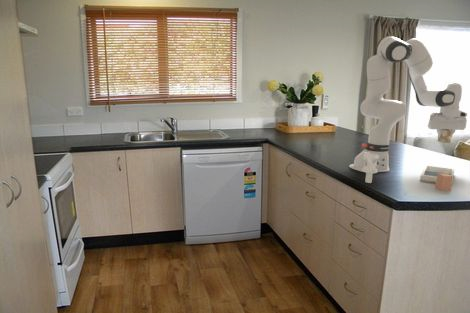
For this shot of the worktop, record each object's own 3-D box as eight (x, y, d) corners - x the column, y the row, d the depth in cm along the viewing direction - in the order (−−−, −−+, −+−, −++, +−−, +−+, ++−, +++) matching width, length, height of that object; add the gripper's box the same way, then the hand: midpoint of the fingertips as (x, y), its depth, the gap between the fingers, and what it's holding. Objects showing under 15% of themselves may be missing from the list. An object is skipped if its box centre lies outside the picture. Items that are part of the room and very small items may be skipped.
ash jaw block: (442, 142, 197) (444, 130, 196) (437, 141, 202) (439, 129, 200) (450, 142, 198) (452, 130, 196) (445, 141, 202) (447, 129, 200)
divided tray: (451, 186, 173) (452, 180, 172) (419, 180, 180) (420, 175, 179) (453, 174, 193) (454, 169, 193) (424, 170, 201) (425, 165, 200)
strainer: (360, 179, 181) (363, 150, 177) (375, 180, 179) (378, 151, 175) (361, 183, 174) (364, 153, 170) (376, 184, 172) (380, 154, 168)
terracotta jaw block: (450, 190, 166) (452, 176, 165) (441, 190, 166) (443, 176, 164) (444, 187, 171) (446, 173, 169) (435, 187, 170) (437, 173, 169)
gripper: (434, 113, 192) (430, 138, 195) (470, 113, 193) (465, 138, 197) (427, 111, 198) (423, 136, 201) (462, 112, 200) (457, 136, 203)
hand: (444, 137), depth 199 cm, fingers closed on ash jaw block, 4 cm apart
